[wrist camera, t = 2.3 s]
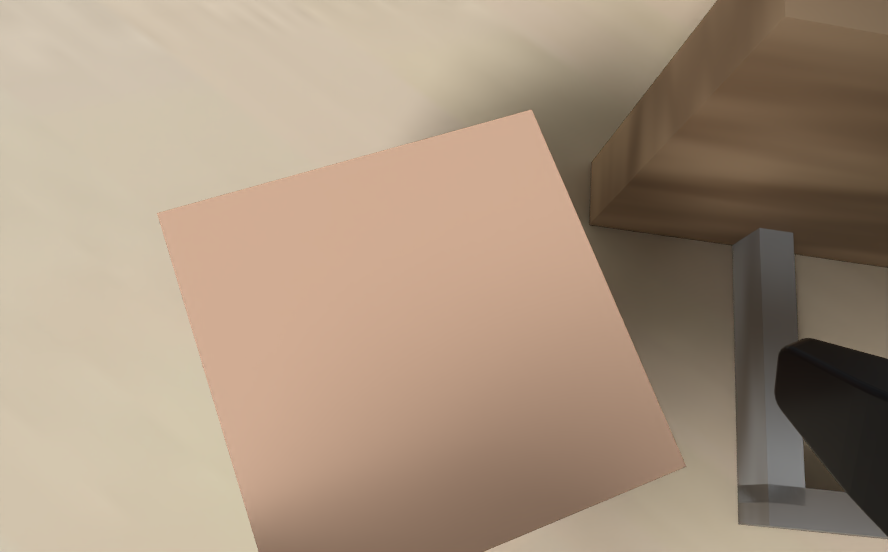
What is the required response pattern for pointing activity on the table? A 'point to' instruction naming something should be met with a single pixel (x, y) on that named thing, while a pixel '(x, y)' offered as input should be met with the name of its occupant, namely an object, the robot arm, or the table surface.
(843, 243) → the cleat board
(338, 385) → the pinkish tan block
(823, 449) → the robot arm
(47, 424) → the table surface
